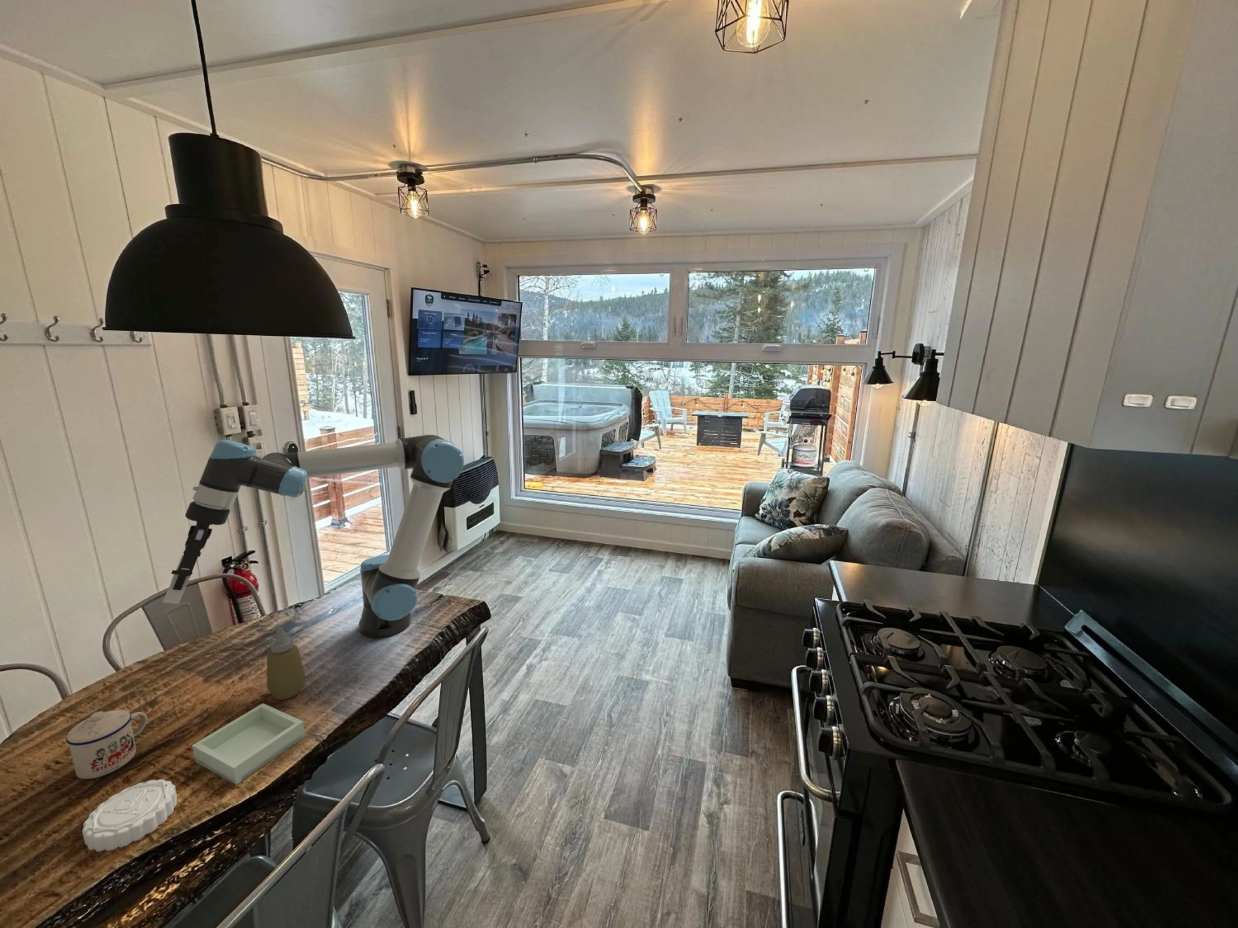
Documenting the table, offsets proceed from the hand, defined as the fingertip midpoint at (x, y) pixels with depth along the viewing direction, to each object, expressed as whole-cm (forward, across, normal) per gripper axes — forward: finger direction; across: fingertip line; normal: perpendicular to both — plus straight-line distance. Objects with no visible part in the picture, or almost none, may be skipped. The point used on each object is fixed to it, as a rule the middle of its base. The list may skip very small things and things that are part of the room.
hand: (174, 592), depth 110 cm
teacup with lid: (+33, +9, +2) cm, 34 cm away
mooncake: (+32, +30, +7) cm, 44 cm away
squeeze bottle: (+21, +5, +29) cm, 36 cm away
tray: (+24, +22, +23) cm, 40 cm away
